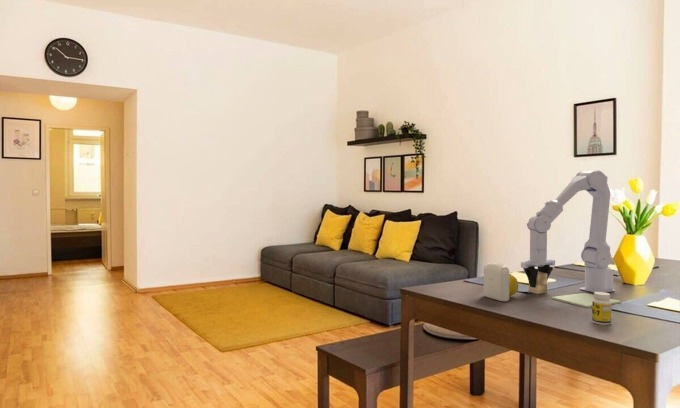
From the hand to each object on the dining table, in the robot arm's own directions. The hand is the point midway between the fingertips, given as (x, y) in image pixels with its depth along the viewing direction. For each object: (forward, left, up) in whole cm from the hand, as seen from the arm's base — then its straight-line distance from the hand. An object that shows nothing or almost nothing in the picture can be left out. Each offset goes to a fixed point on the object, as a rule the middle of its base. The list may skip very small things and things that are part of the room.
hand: (537, 286), depth 180 cm
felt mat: (-4, +17, -2) cm, 18 cm away
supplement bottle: (+15, +38, -2) cm, 41 cm away
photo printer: (+21, +2, -2) cm, 21 cm away
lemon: (+15, +2, -2) cm, 15 cm away
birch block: (0, 0, -2) cm, 2 cm away
